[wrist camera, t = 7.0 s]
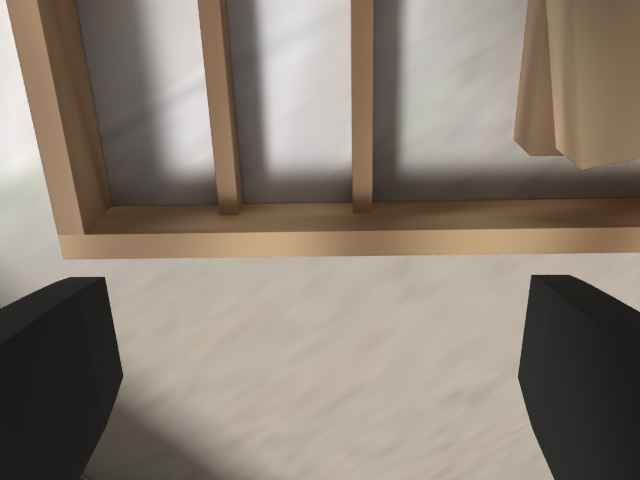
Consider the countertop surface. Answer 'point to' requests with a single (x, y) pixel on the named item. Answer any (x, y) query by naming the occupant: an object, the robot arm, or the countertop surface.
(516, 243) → the tray
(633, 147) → the offcut upper
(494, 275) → the countertop surface
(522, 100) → the offcut lower
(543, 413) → the robot arm
